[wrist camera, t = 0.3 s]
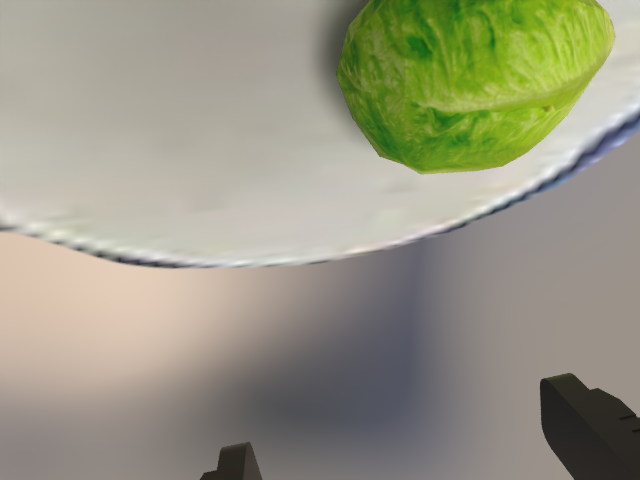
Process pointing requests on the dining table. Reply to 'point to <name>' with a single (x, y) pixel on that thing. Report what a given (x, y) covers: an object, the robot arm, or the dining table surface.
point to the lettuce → (468, 76)
